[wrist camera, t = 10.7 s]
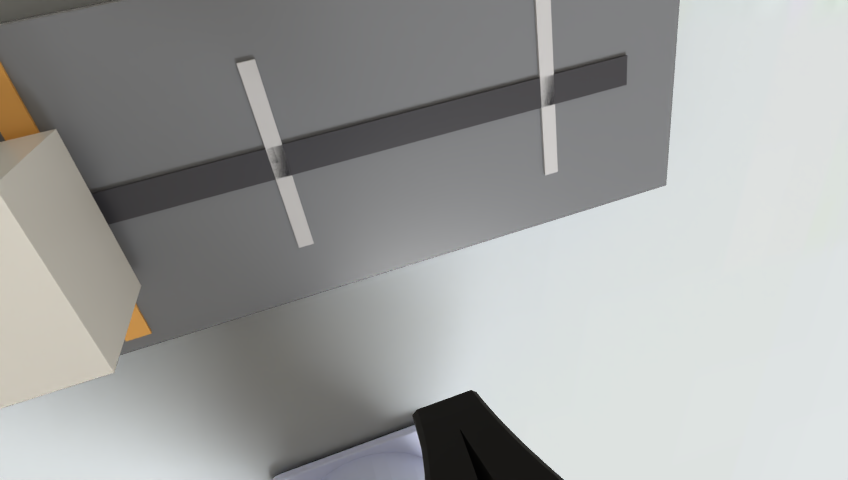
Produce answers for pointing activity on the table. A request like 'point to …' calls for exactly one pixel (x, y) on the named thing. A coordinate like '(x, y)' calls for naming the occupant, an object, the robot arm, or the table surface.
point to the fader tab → (56, 274)
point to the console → (335, 132)
